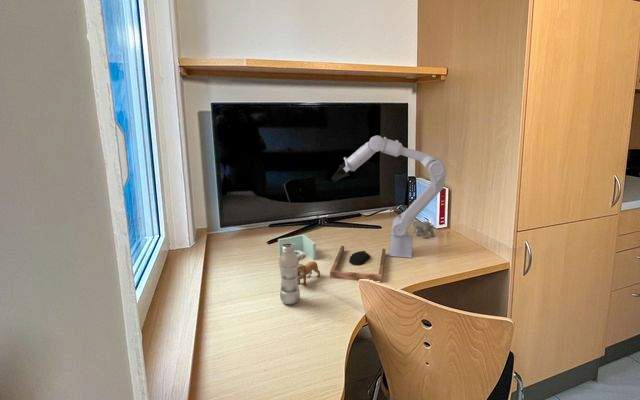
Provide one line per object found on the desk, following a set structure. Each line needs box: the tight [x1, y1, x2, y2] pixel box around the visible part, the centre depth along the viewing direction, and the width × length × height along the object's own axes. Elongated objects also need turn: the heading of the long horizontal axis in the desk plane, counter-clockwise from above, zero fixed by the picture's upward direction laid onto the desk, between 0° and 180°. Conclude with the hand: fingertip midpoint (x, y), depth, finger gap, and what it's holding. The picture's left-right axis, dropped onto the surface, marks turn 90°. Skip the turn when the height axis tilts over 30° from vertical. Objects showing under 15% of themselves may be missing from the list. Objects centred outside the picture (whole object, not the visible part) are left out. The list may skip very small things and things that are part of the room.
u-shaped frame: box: [329, 245, 386, 283], centre depth 142 cm, size 19×25×2 cm
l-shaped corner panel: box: [277, 234, 317, 261], centre depth 150 cm, size 12×12×8 cm
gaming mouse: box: [348, 250, 371, 266], centre depth 148 cm, size 6×15×4 cm, turn 145°
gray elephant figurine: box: [412, 220, 435, 239], centre depth 170 cm, size 9×12×8 cm
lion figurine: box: [298, 260, 321, 287], centre depth 129 cm, size 15×5×9 cm, turn 151°
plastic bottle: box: [278, 243, 301, 305], centre depth 114 cm, size 6×7×20 cm
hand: (334, 178), depth 150 cm, fingers open, 7 cm apart
